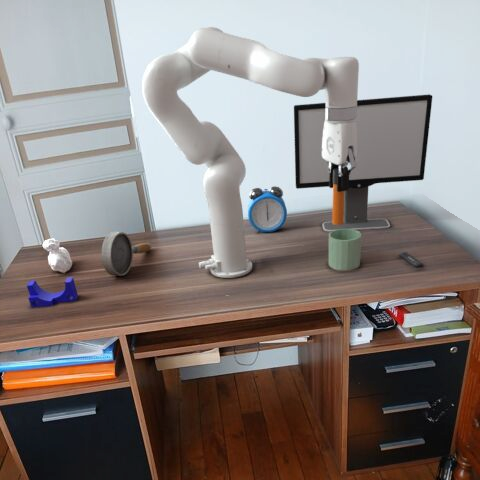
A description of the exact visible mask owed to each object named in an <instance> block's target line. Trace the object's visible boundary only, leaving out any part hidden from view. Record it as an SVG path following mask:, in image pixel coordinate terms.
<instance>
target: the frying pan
mask: <svg viewBox="0 0 480 480" xmlns="http://www.w3.org/2000/svg"><path fill="white" fill-rule="evenodd" d="M151 249H152V245H151V243H149V242H143V243H138V244H136V245H133V242H132V239H131V238H130V236H129V235H128V234H127V233H126V232H124V231H111V232H109V233H108V234H107V235H106V236H105V238H104V239H103V242H102V246H101V251H100V252H101V263H102V265H103V269H104V271H105V272H106V273H107V274H109V275H110V276H117V277H123V276H125V275H127V274H128V273H129V271H130V269H131V267H132V264H133V261H134V254H143V253H146V252H148V251H149V252H150V251H151Z"/></svg>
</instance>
